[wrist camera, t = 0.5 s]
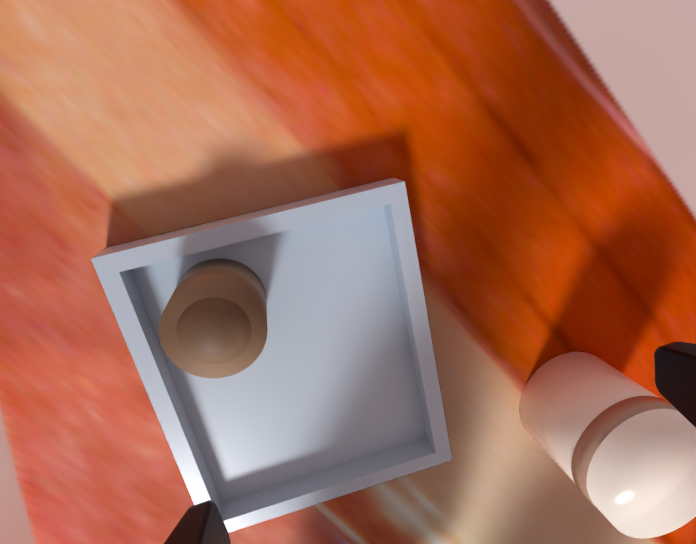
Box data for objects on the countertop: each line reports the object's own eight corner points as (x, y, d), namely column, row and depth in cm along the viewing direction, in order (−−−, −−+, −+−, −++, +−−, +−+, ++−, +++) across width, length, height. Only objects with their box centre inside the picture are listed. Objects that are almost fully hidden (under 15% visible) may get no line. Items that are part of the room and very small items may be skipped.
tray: (439, 438, 26) (452, 460, 24) (212, 510, 24) (208, 539, 22) (392, 177, 21) (404, 181, 19) (105, 247, 19) (90, 258, 18)
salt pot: (275, 327, 21) (279, 371, 17) (191, 351, 21) (175, 401, 17) (252, 248, 20) (251, 276, 16) (162, 271, 20) (137, 306, 16)
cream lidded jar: (612, 424, 28) (722, 514, 21) (522, 454, 27) (607, 556, 21) (611, 338, 26) (731, 407, 19) (513, 368, 25) (604, 450, 19)
